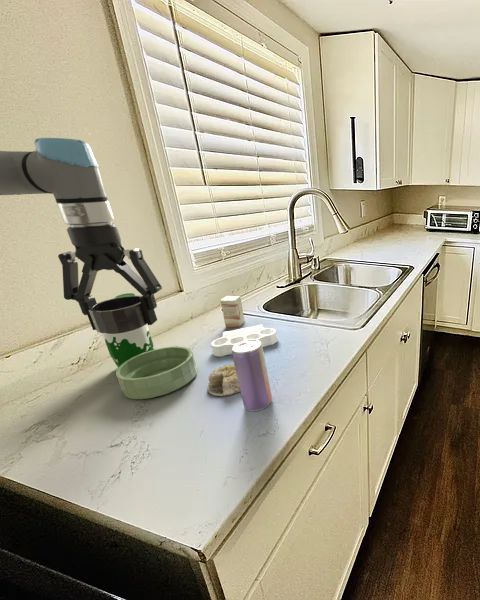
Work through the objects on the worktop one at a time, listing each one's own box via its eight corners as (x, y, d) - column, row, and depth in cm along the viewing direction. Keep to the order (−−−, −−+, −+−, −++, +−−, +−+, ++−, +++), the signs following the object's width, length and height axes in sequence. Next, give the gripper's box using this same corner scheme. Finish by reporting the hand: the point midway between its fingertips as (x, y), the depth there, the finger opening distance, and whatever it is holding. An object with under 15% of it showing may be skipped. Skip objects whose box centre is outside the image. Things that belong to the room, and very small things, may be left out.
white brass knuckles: (272, 328, 111) (280, 347, 99) (213, 341, 103) (213, 363, 91) (271, 319, 109) (279, 337, 97) (210, 331, 101) (210, 352, 89)
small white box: (225, 327, 112) (219, 300, 109) (231, 322, 116) (225, 295, 113) (240, 327, 112) (234, 300, 109) (245, 321, 116) (240, 295, 113)
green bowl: (106, 398, 76) (97, 377, 74) (160, 363, 91) (154, 344, 88) (165, 404, 74) (158, 382, 72) (210, 367, 89) (205, 347, 87)
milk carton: (163, 363, 91) (142, 296, 84) (123, 378, 84) (97, 307, 77) (150, 354, 96) (129, 290, 88) (112, 368, 89) (86, 300, 82)
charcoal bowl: (85, 334, 69) (75, 310, 67) (127, 316, 78) (120, 294, 76) (125, 337, 68) (117, 312, 66) (163, 317, 77) (157, 296, 75)
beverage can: (259, 415, 71) (247, 354, 65) (238, 408, 73) (224, 349, 67) (277, 398, 76) (267, 341, 70) (257, 393, 78) (246, 337, 72)
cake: (234, 371, 88) (231, 353, 86) (260, 381, 83) (259, 362, 82) (198, 389, 79) (194, 369, 77) (225, 401, 75) (223, 380, 73)
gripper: (6, 229, 60) (54, 337, 68) (144, 224, 64) (174, 326, 72) (39, 224, 66) (79, 323, 74) (162, 219, 71) (187, 313, 79)
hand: (126, 324), depth 73 cm, fingers closed on charcoal bowl, 10 cm apart
